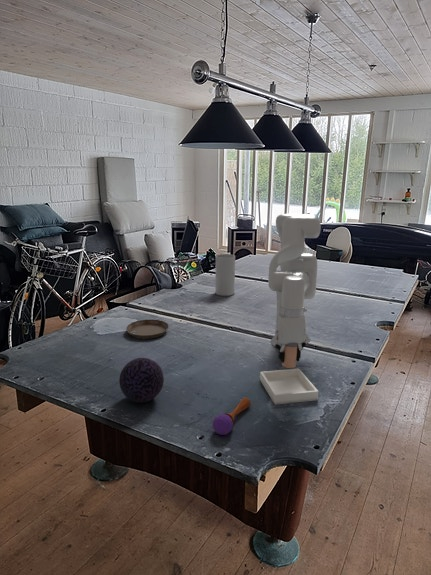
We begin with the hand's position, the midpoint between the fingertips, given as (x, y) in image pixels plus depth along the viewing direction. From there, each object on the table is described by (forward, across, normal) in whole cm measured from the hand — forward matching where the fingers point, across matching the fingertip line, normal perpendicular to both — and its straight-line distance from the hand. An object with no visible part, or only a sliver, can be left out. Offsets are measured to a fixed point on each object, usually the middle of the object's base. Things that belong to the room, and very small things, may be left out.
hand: (289, 359), depth 147 cm
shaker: (+2, 0, 0) cm, 2 cm away
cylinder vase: (+10, -4, -127) cm, 127 cm away
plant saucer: (+12, +48, -67) cm, 83 cm away
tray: (+12, 0, -1) cm, 12 cm away
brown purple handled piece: (+13, +24, +15) cm, 31 cm away
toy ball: (+13, +52, -4) cm, 53 cm away
